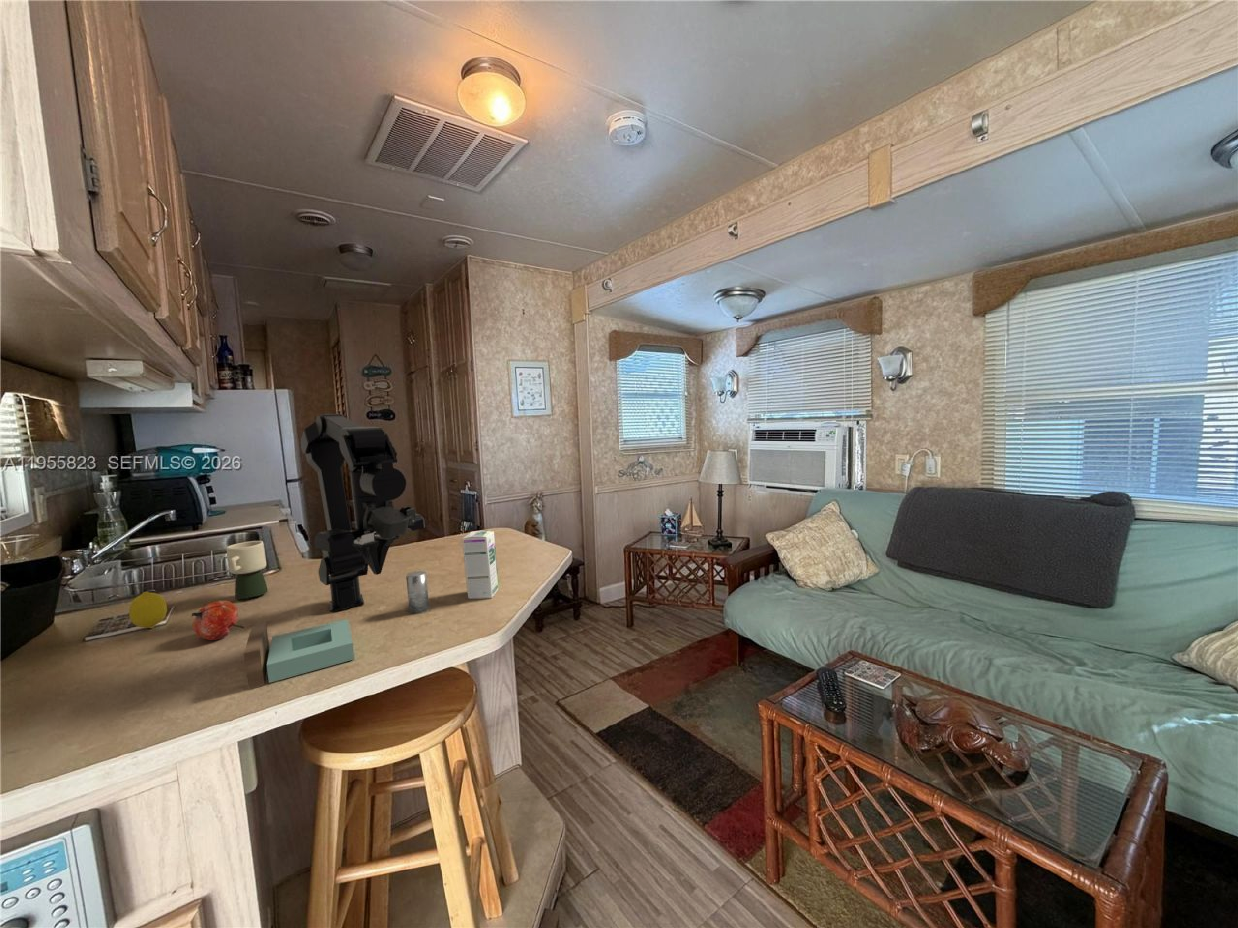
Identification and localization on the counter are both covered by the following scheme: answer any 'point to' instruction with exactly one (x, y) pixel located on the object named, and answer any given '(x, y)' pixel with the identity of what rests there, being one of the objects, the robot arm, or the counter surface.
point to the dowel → (417, 592)
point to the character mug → (247, 568)
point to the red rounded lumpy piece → (215, 620)
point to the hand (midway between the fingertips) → (377, 573)
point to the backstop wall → (257, 656)
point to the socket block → (309, 650)
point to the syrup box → (480, 564)
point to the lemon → (147, 610)
